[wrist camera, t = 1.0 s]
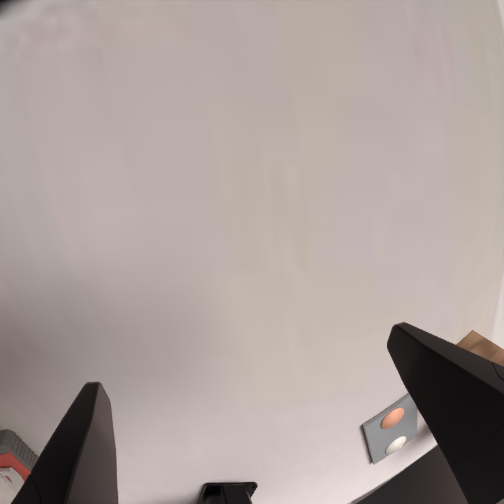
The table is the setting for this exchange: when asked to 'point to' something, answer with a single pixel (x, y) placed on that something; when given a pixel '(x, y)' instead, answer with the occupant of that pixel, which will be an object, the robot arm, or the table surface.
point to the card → (391, 428)
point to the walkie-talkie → (15, 459)
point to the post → (482, 347)
